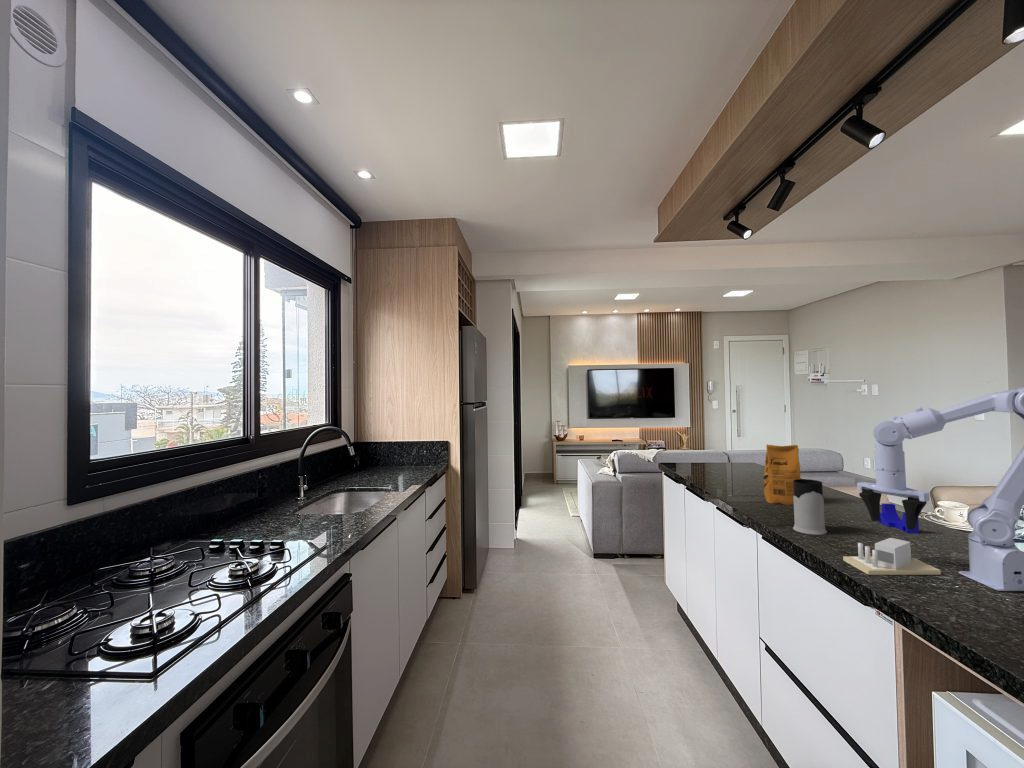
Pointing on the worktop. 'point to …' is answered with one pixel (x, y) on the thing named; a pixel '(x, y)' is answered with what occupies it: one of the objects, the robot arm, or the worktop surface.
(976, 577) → the robot arm
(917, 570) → the board
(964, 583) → the worktop surface
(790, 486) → the coffee package
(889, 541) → the plug housing
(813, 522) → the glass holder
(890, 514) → the cable clip
